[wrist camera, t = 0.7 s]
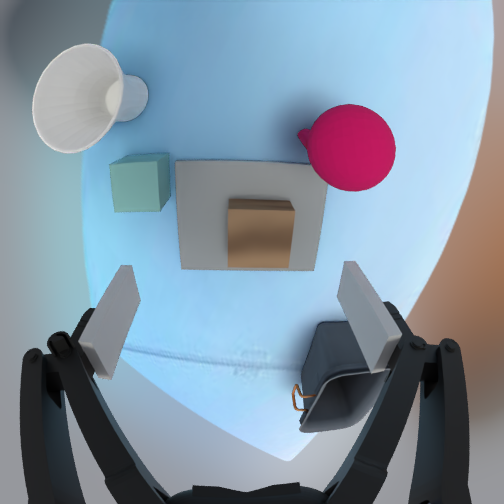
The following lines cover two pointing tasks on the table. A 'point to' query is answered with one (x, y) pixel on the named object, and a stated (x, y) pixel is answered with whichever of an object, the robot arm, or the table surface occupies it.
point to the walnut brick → (260, 233)
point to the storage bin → (336, 381)
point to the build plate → (244, 187)
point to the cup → (84, 98)
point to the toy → (350, 147)
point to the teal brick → (140, 182)
